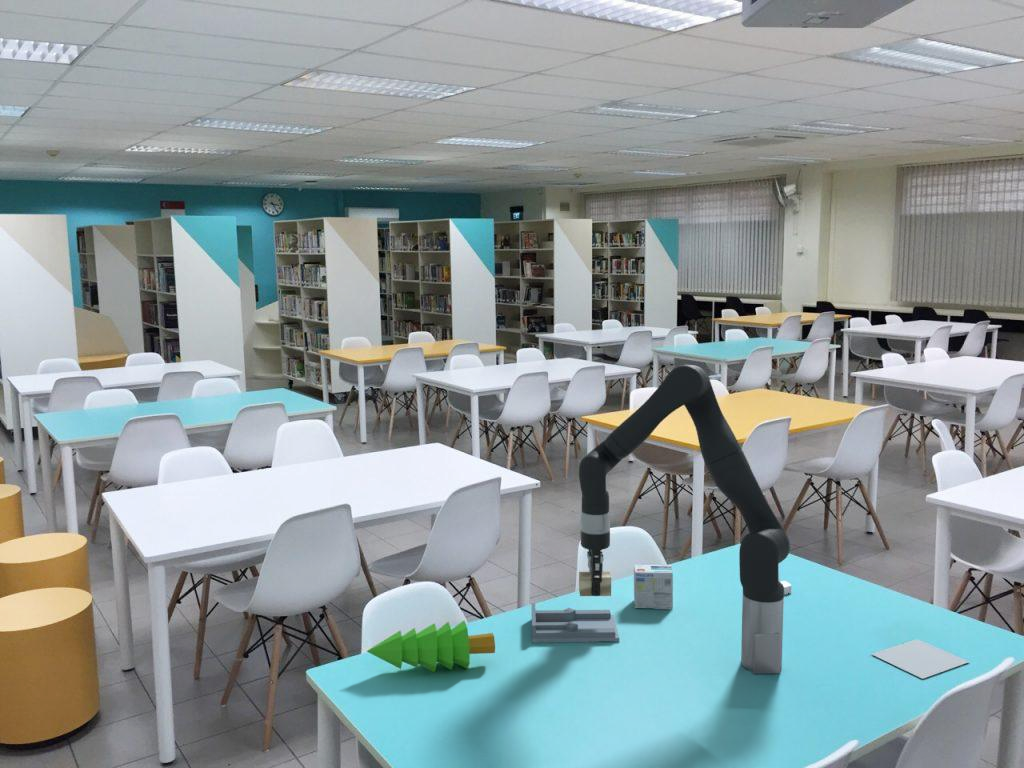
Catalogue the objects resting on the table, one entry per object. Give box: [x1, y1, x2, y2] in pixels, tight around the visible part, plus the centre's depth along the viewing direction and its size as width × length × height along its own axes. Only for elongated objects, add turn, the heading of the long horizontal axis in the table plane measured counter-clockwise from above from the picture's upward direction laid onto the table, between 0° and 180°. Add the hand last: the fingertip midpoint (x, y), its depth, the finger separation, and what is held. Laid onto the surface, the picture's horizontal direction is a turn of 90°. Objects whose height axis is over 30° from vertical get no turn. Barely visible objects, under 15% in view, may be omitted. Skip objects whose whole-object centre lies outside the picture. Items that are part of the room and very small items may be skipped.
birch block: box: [578, 571, 612, 597], centre depth 216 cm, size 4×8×5 cm, turn 89°
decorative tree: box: [366, 620, 496, 673], centre depth 197 cm, size 11×12×30 cm
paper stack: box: [871, 638, 970, 679], centre depth 205 cm, size 23×25×1 cm
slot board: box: [531, 602, 620, 643], centre depth 217 cm, size 14×22×4 cm, turn 89°
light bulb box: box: [633, 563, 674, 610], centre depth 232 cm, size 11×7×11 cm, turn 84°
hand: (595, 591), depth 216 cm, fingers closed on birch block, 4 cm apart
